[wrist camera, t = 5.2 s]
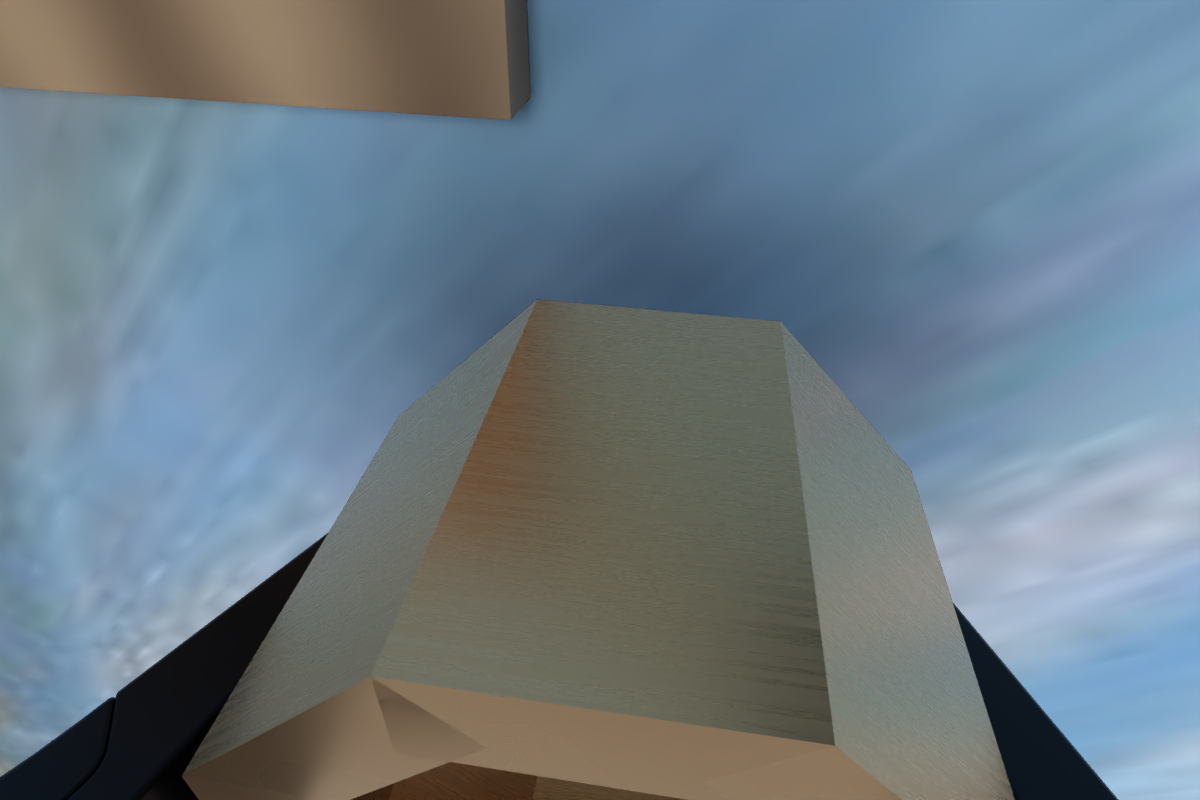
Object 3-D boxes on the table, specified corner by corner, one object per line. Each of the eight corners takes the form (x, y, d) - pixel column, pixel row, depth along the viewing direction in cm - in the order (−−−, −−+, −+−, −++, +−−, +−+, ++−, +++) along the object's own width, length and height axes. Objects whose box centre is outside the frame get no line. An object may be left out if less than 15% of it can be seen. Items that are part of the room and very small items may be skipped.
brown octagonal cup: (963, 337, 8) (1207, 802, 4) (827, 678, 12) (877, 1066, 8) (374, 284, 9) (75, 632, 5) (440, 624, 13) (314, 958, 9)
